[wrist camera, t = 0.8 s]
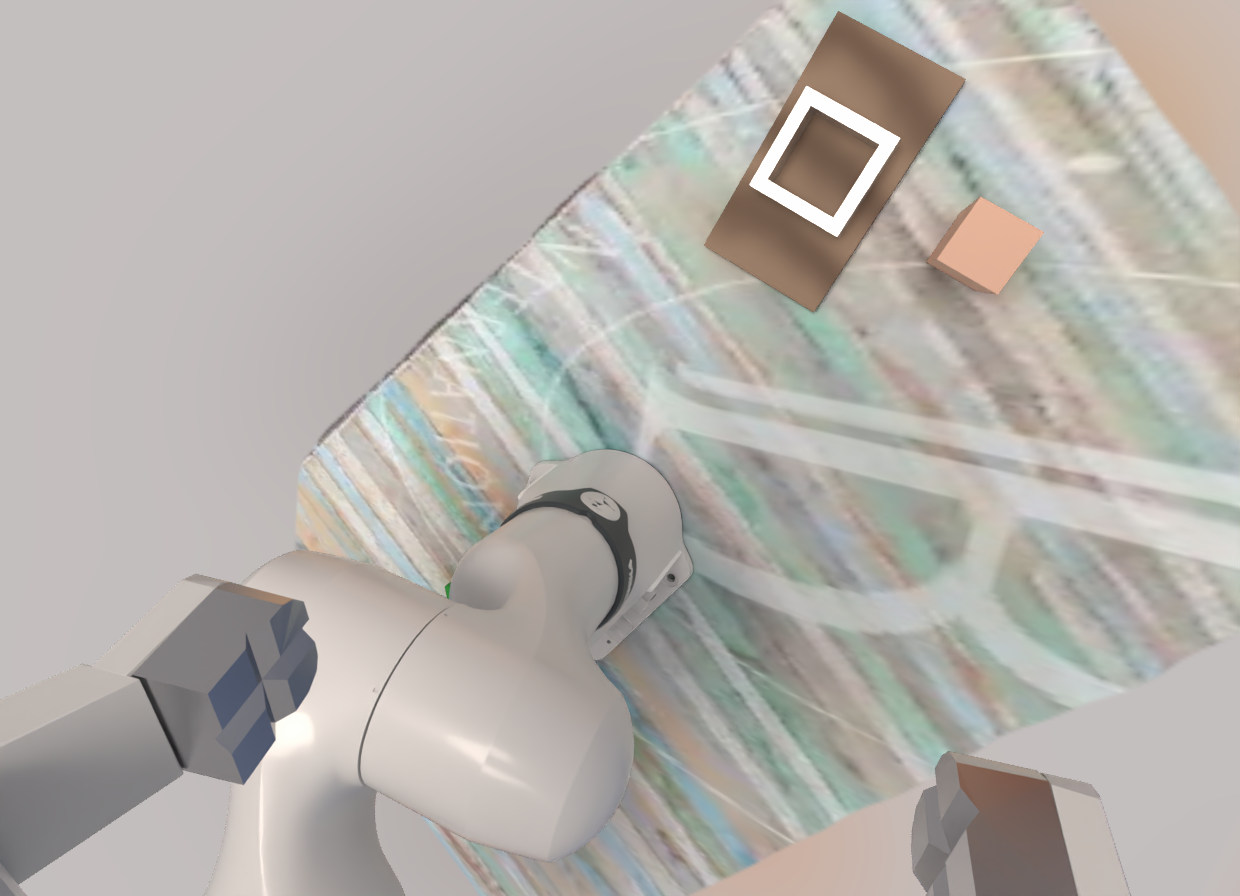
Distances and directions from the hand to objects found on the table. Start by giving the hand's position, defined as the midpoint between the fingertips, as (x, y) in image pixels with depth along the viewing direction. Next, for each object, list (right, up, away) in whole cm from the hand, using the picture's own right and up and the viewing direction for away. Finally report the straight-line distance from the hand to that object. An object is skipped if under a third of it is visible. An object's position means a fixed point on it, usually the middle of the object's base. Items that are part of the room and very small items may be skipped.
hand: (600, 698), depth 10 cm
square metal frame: (+17, +26, +51) cm, 60 cm away
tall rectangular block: (+28, +19, +50) cm, 60 cm away
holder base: (+17, +26, +52) cm, 61 cm away
